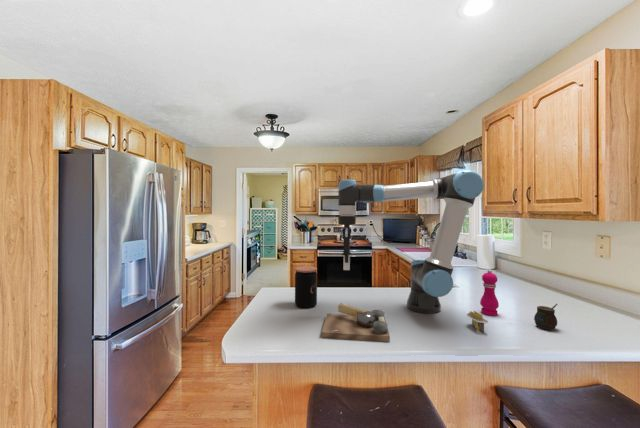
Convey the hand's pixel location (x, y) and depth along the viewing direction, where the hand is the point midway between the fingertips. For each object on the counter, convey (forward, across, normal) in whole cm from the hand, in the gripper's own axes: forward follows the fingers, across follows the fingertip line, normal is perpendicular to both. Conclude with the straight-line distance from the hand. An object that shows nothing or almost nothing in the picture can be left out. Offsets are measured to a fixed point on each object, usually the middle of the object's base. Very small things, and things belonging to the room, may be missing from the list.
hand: (346, 269), depth 125 cm
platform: (+21, +6, +51) cm, 55 cm away
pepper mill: (+21, -13, +64) cm, 68 cm away
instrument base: (+20, +13, +4) cm, 25 cm away
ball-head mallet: (+18, +10, +4) cm, 21 cm away
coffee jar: (+21, -12, -20) cm, 31 cm away
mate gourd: (+21, +1, +79) cm, 82 cm away
